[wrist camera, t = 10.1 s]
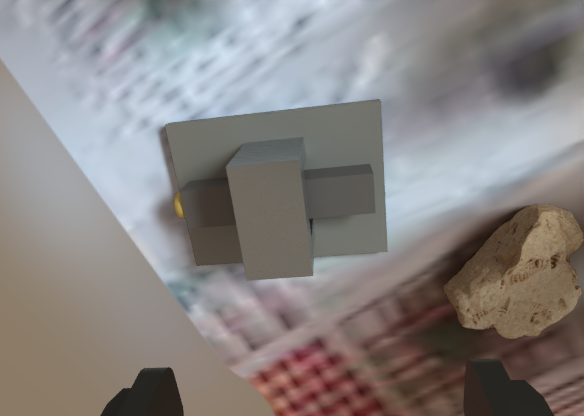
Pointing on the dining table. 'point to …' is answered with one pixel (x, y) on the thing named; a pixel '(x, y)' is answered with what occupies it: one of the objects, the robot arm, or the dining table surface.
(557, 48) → the dining table surface
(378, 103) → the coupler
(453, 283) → the stone
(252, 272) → the grey arch block
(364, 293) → the dining table surface
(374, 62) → the dining table surface
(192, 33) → the dining table surface
